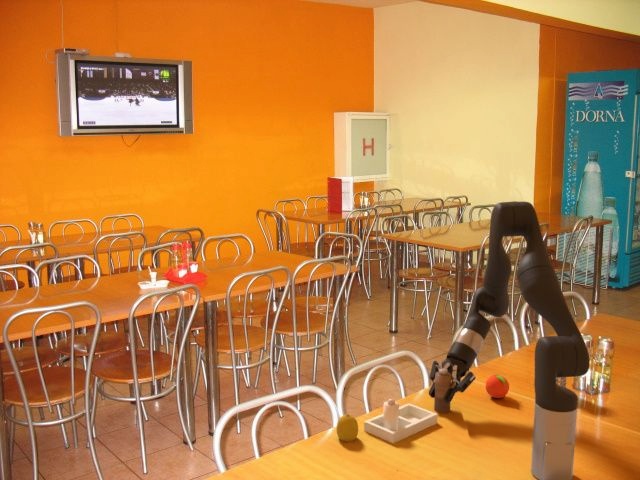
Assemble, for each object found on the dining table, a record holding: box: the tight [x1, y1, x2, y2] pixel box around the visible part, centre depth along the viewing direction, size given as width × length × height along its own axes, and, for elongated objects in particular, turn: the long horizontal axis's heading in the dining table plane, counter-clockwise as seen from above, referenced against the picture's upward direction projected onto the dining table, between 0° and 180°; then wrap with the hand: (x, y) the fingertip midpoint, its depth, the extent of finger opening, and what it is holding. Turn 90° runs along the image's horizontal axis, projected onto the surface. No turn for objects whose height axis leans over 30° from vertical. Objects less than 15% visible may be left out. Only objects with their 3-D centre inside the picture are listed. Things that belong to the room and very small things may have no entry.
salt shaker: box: [382, 398, 400, 431], centre depth 179 cm, size 4×4×9 cm
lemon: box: [336, 413, 359, 443], centre depth 175 cm, size 6×6×8 cm
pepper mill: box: [433, 368, 452, 414], centre depth 192 cm, size 4×4×13 cm
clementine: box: [485, 374, 510, 399], centre depth 205 cm, size 8×7×7 cm
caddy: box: [363, 403, 439, 444], centre depth 182 cm, size 18×10×4 cm, turn 133°
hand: (438, 398), depth 191 cm, fingers closed on pepper mill, 4 cm apart
